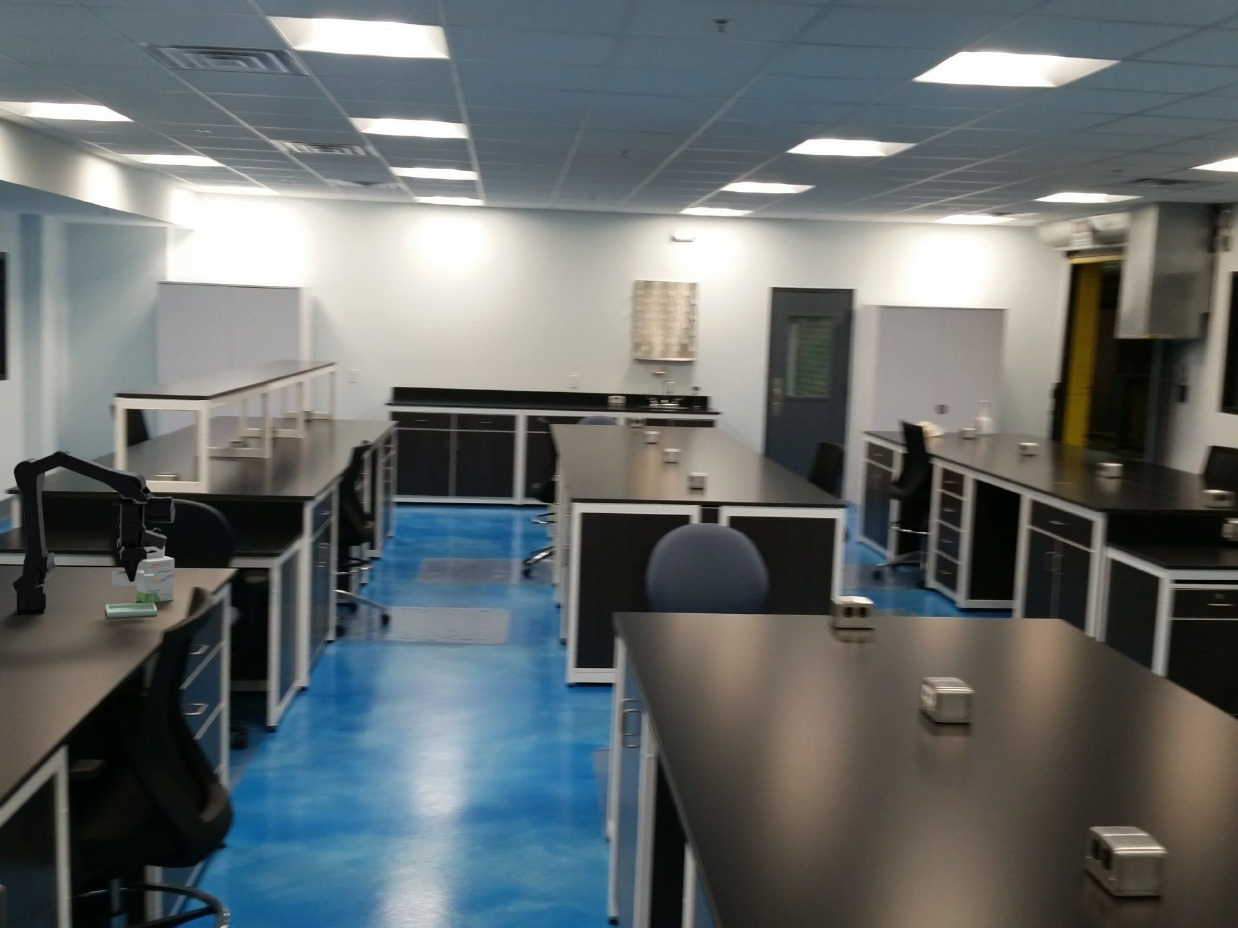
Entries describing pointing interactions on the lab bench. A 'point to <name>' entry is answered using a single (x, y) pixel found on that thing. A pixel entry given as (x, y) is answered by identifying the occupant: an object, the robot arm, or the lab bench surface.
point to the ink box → (157, 577)
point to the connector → (122, 579)
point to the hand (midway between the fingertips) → (131, 580)
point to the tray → (131, 610)
